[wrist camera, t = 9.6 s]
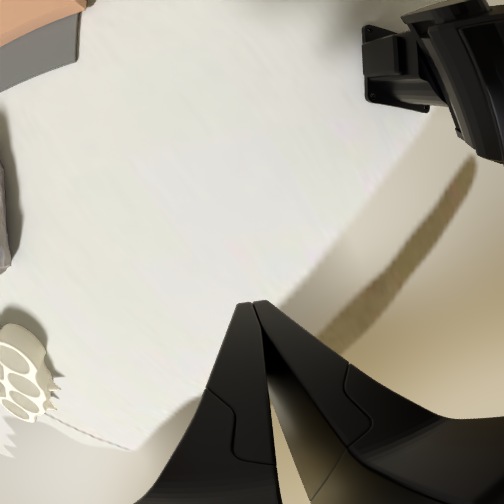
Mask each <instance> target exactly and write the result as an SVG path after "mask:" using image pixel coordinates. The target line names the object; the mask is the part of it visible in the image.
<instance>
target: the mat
mask: <svg viewBox="0 0 504 504" xmlns="http://www.w3.org/2000/svg"><path fill="white" fill-rule="evenodd" d="M78 19H79V13H76V14H73V15H70V16H67V17H64V18H62V19H59V20H57V21H54V22H52V23H49V24H47V25H44V26H42V27H40V28H38V29H35V30H33V31H31V32H29V33H27V34H25V35H23V36H21V37H19V38H17V39H15V40H13V41H11V42H9V43H7V44H5V45H4V46H2V47H0V92H2V91H4V90H6V89H8V88H11V87H13V86H15V85H17V84H19V83H21V82H24V81H26V80H28V79H31V78H33V77H35V76H38V75H40V74H43V73H46V72H48V71H51V70H54V69H56V68H59V67H62V66H65V65H68V64H71V63H74V62H76V50H77V31H78Z"/></svg>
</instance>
